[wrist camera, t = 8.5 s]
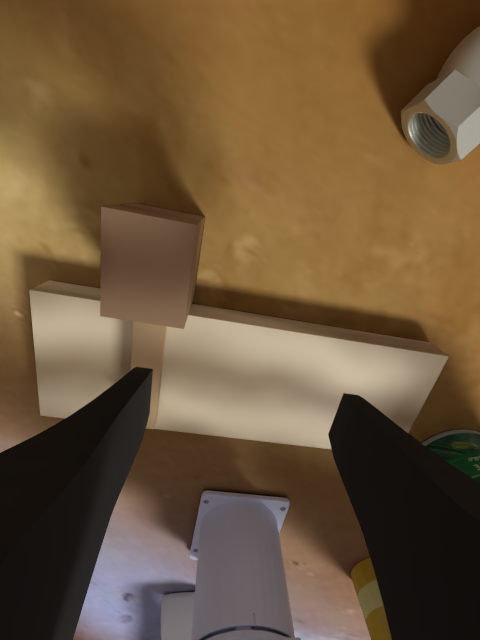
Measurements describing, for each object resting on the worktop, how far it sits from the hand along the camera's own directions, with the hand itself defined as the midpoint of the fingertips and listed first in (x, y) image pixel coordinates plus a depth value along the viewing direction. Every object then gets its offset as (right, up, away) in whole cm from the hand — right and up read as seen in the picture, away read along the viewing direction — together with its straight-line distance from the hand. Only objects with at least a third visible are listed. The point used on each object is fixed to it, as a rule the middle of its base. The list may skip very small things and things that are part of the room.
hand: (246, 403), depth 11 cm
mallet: (-5, +4, +9) cm, 11 cm away
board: (0, -1, +11) cm, 11 cm away
